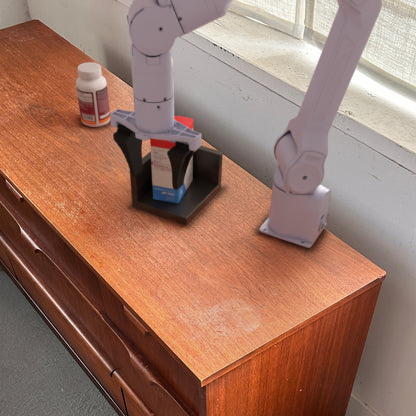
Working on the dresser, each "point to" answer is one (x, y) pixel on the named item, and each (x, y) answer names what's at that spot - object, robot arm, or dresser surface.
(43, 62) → the dresser surface
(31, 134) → the dresser surface
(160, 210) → the box
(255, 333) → the dresser surface
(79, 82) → the pill bottle
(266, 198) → the dresser surface
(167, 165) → the ink box
